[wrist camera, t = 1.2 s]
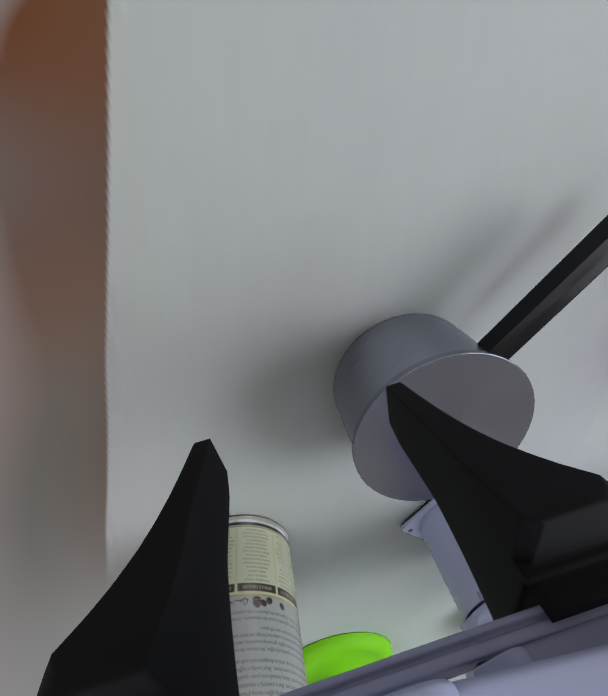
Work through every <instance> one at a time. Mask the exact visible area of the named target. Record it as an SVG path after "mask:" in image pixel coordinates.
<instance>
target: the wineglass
mask: <svg viewBox="0 0 608 696" xmlns="http://www.w3.org/2000/svg"><path fill="white" fill-rule="evenodd" d="M303 655H304V663H305V671H306V679H307V685H309V684H312V683H315V682H318V681H321V680H324V679H327V678H329V677H332V676H335V675H338V674H341V673H344V672H347V671H350V670H353V669H355V668H358V667H361V666H364V665H367V664H370V663H373V662H376V661H379V660H381V659H384V658H387V657H390V656H391V655H392V648H391V643H390V642H389V641H388V639H387V638H386V637H383V636H381V635H378V634H374V633H367V632H360V633H347V634H341V635H336V636H332V637H329V638H326V639H322V640H319V641H317V642H315V643H313V644H311V645H308V646H306V647H304V648H303Z"/></svg>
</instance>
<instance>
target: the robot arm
mask: <svg viewBox="0 0 608 696" xmlns="http://www.w3.org/2000/svg"><path fill="white" fill-rule="evenodd" d="M386 394H387V404H388V414H389V423H390V425H391V427H392V429H393V431H394V434H395V436H396V438H397V440H398V442H399V444H400V445H401V447H402V449H403V450H404V452H405V453H406V455H407V457H408V458H409V460H410V461H411V463H412V464H413V466H414V467H415V469H416V471H417V472H418V474H419V475H420V477H421V478H422V480H423V481H424V483H425V484H426V486H427V488H428V489H429V491H430V492H431V494H432V496H433V497H434V499H432V500H431V501H430V502H429V503H427V504H426V505H425V506H424V507H423V508H422V509H420V510H419V511H418V512H417V513H416V514H415V515H413V516H412V517H411V518H410V519H409V520H408V521H406V522H405V523H404V524H403V525H402V526H401V528H402V531H403V532H405V533H408V534H410V535H413V536H415V537H417V538H420V539H422V540H425V542H426V544H427V546H428V548H429V550H430V552H431V554H432V556H433V558H434V560H435V562H436V564H437V566H438V568H439V571H440V573H441V575H442V577H443V579H444V581H445V583H446V585H447V587H448V589H449V591H450V593H451V595H452V597H453V599H454V601H455V603H456V605H457V607H458V609H459V611H460V613H461V615H462V617H463V620H464V621H463V622H462V623H460V626H461V628H462V630H463V631H462V632H459V633H456V634H454V635H451V636H448V637H445V638H442V639H439V640H436V641H433V642H430V643H428V644H425V645H422V646H419V647H416V648H413V649H410V650H407V651H405V652H402V653H399V654H396V655H393V656H390V657H387V658H384V659H381V660H379V661H376V662H373V663H370V664H367V665H364V666H361V667H358V668H355V669H353V670H350V671H347V672H344V673H341V674H338V675H335V676H332V677H329V678H327V679H324V680H321V681H318V682H315V683H312V684H309V685H306V686H303V687H301V688H298V689H295V690H292V691H289V692H286V693H283V694H280V695H278V696H608V481H606V480H605V479H604V478H602V477H601V476H600V475H598V474H594V473H590V472H587V471H583V470H580V469H576V468H572V467H569V466H565V465H562V464H559V463H556V462H553V461H550V460H547V459H544V458H541V457H538V456H535V455H532V454H529V453H527V452H524V451H522V450H519V449H517V448H514V447H512V446H509V445H507V444H504V443H502V442H500V441H497V440H495V439H493V438H491V437H489V436H487V435H485V434H483V433H480V432H478V431H477V430H475V429H473V428H471V427H469V426H467V425H465V424H464V423H462V422H460V421H458V420H457V419H455V418H453V417H452V416H450V415H448V414H447V413H445V412H444V411H442V410H440V409H439V408H437V407H436V406H434V405H433V404H431V403H430V402H428V401H427V400H425V399H424V398H422V397H421V396H420V395H418V394H417V393H415V392H414V391H412V390H411V389H410V388H408V387H407V386H406V385H404V384H403V383H401V382H399V383H395V384H392V385H389V386H386ZM228 534H229V485H228V475H227V471H226V469H225V467H224V465H223V463H222V461H221V459H220V457H219V455H218V453H217V451H216V449H215V447H214V446H213V444H212V442H211V440H210V439H207V440H204V441H200V442H197V443H194V445H193V447H192V449H191V451H190V454H189V456H188V458H187V460H186V463H185V465H184V467H183V469H182V471H181V473H180V476H179V478H178V480H177V482H176V484H175V486H174V488H173V490H172V492H171V494H170V496H169V498H168V500H167V502H166V503H165V505H164V507H163V509H162V511H161V513H160V514H159V516H158V518H157V520H156V521H155V523H154V525H153V527H152V528H151V530H150V531H149V533H148V535H147V536H146V538H145V539H144V541H143V543H142V544H141V546H140V547H139V549H138V550H137V552H136V553H135V554H134V556H133V557H132V559H131V560H130V562H129V563H128V564H127V566H126V567H125V568H124V570H123V571H122V573H121V574H120V575H119V577H118V578H117V579H116V581H115V582H114V583H113V584H112V586H111V587H110V588H109V589H108V591H107V592H106V593H105V595H104V596H103V597H102V598H101V600H100V601H99V602H98V603H97V604H96V605H95V607H94V608H93V609H92V610H91V611H90V613H89V614H88V615H87V616H86V617H85V618H84V619H83V621H82V622H81V623H80V624H79V625H78V626H77V627H76V628H75V629H74V630H73V632H72V633H71V634H70V635H69V636H68V637H67V638H66V639H65V640H64V641H63V643H62V644H61V645H60V646H59V647H58V648H57V649H56V650H55V651H54V652H53V653H52V655H51V658H50V660H49V663H48V665H47V668H46V670H45V673H44V676H43V679H42V682H41V685H40V688H39V691H38V694H37V696H239V687H238V679H237V670H236V662H235V652H234V641H233V631H232V620H231V607H230V594H229V579H228ZM462 674H465V675H466V677H467V678H465V679H461V680H457V681H453V682H450V681H449V680H448V679H451V678H453V677H456V676H459V675H462Z"/></svg>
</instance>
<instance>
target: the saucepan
mask: <svg viewBox="0 0 608 696" xmlns="http://www.w3.org/2000/svg"><path fill="white" fill-rule="evenodd" d="M607 267H608V215H607V216H606V217H605V218H604V219H603V220H602V221H601V222H600V223H599V224H598V225H597V226H596V227H595V228H594V229H593V230H592V231H591V232H590V233H589V234H588V235H587V236H586V237H585V238H584V239H583V240H582V241H581V242H580V243H579V244H578V245H577V246H576V247H575V248H574V249H573V250H572V251H571V252H570V253H569V254H568V255H567V256H566V257H565V258H564V259H563V260H562V261H561V262H560V263H559V264H558V265H556V266H555V267H554V268H553V269H552V270H551V271H550V272H549V273H548V274H547V275H546V276H545V277H544V278H543V279H542V280H541V281H540V282H539V283H538V284H537V285H536V286H535V287H534V288H533V289H532V290H531V291H530V292H529V293H528V294H527V295H526V296H525V297H524V298H523V299H522V300H521V301H520V302H519V303H518V304H517V305H516V306H515V307H514V308H513V309H512V310H511V311H510V312H509V313H508V314H507V315H506V316H505V317H504V318H503V319H502V320H501V321H500V322H499V323H498V324H497V325H496V326H495V327H494V328H493V329H492V330H491V331H490V332H489V333H488V334H486V335H485V336H484V337H483V338H482V339H481V340H480V341H479V342H478V343H477V342H476V341H474V340H473V339H471V338H470V337H469V336H467V335H466V334H465V333H463V332H462V331H461V330H459V329H458V328H457V327H455V326H454V325H453V324H451V323H450V322H448V321H446V320H444V319H442V318H440V317H436V316H433V315H427V314H409V315H402V316H398V317H394V318H391V319H389V320H386V321H384V322H382V323H380V324H378V325H376V326H374V327H372V328H371V329H369V330H368V331H366V332H365V333H364V334H363V335H361V336H360V337H359V338H358V339H357V340H356V341H355V342H354V343H353V344H352V345H351V346H350V348H349V349H348V350H347V352H346V353H345V355H344V356H343V358H342V360H341V361H340V364H339V366H338V368H337V371H336V375H335V379H334V398H335V402H336V405H337V408H338V410H339V413H340V415H341V418H342V420H343V423H344V425H345V428H346V431H347V433H348V436H349V438H350V441H351V443H352V455H353V460H354V463H355V466H356V469H357V471H358V473H359V475H360V477H361V478H362V479H363V481H364V482H365V483H366V484H367V485H368V486H369V487H371V488H372V489H373V490H374V491H376V492H378V493H380V494H382V495H384V496H387V497H390V498H394V499H398V500H406V501H421V500H430V499H434V497H433V496H432V494H431V492H430V491H429V489H428V488H427V486H426V484H425V483H424V481H423V480H422V478H421V477H420V475H419V474H418V472H417V471H416V469H415V467H414V466H413V464H412V463H411V461H410V460H409V458H408V457H407V455H406V453H405V452H404V450H403V449H402V447H401V445H400V444H399V442H398V440H397V438H396V436H395V434H394V431H393V429H392V427H391V425H390V423H389V414H388V404H387V394H386V386H389V385H392V384H395V383H399V382H401V383H403V384H404V385H406V386H407V387H408V388H410V389H411V390H412V391H414V392H415V393H417V394H418V395H420V396H421V397H422V398H424V399H425V400H427V401H428V402H430V403H431V404H433V405H434V406H436V407H437V408H439V409H440V410H442V411H444V412H445V413H447V414H448V415H450V416H452V417H453V418H455V419H457V420H458V421H460V422H462V423H464V424H465V425H467V426H469V427H471V428H473V429H475V430H477V431H478V432H480V433H483V434H485V435H487V436H489V437H491V438H493V439H495V440H497V441H500V442H502V443H504V444H507V445H509V446H512V447H514V448H517V447H518V446H519V445H520V443H521V441H522V440H523V438H524V437H525V435H526V433H527V431H528V429H529V426H530V423H531V420H532V417H533V412H534V401H535V399H534V392H533V388H532V385H531V382H530V380H529V379H528V377H527V375H526V374H525V373H524V372H523V370H522V369H521V368H520V367H519V366H517V365H516V364H515V363H513V362H512V361H510V360H509V359H510V358H511V357H512V356H513V355H514V354H515V353H516V352H517V351H518V350H519V349H520V348H521V347H522V346H523V345H525V344H526V343H527V342H528V341H529V340H530V339H531V338H532V337H533V336H534V335H535V334H536V333H537V332H538V331H540V330H541V329H542V328H543V327H544V326H545V325H546V324H547V323H548V322H549V321H550V320H551V319H552V318H553V317H554V316H556V315H557V314H558V313H559V312H560V311H561V310H562V309H563V308H564V307H565V306H566V305H567V304H568V303H569V302H571V301H572V300H573V299H574V298H575V297H576V296H577V295H578V294H579V293H580V292H581V291H582V290H583V289H584V288H585V287H587V286H588V285H589V284H590V283H591V282H592V281H593V280H594V279H595V278H596V277H597V276H598V275H599V274H600V273H601V272H603V271H604V270H605V269H606V268H607Z"/></svg>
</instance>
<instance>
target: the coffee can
mask: <svg viewBox="0 0 608 696" xmlns="http://www.w3.org/2000/svg"><path fill="white" fill-rule="evenodd" d="M228 579H229V594H230V607H231V620H232V631H233V641H234V652H235V662H236V670H237V679H238V687H239V696H278V695H280V694H283V693H286V692H289V691H292V690H295V689H298V688H301V687H303V686H306V685H307V679H306V671H305V663H304V655H303V648H302V641H301V633H300V626H299V618H298V609H297V603H296V595H295V587H294V579H293V570H292V563H291V555H290V542H289V537H288V535H287V533H286V531H285V530H284V529H283V528H282V527H281V526H280V525H278V524H277V523H275V522H273V521H271V520H269V519H267V518H261V517H257V516H248V515H247V516H232V517H229V534H228Z"/></svg>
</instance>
